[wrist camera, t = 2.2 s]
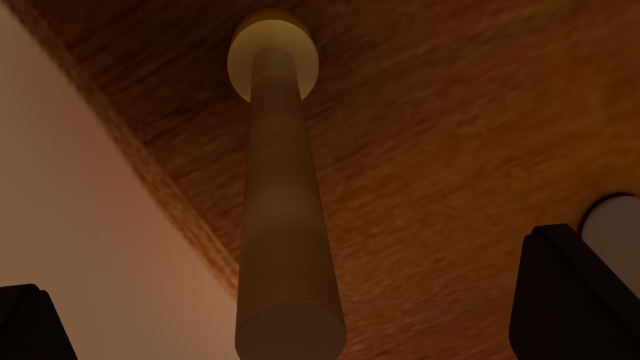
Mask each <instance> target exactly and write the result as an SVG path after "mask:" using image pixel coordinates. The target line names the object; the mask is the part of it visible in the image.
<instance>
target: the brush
mask: <svg viewBox="0 0 640 360" xmlns="http://www.w3.org/2000/svg"><path fill="white" fill-rule="evenodd" d="M227 70H228V75H229V78H230V81H231V83H232V85H233V87H234V88H235V90H236V91H237V93H238V94H239V95H240V96H241V97H242V98H243V99H245V100H246V101H247V102H249V103H250V114H249V129H248V145H247V160H246V176H245V191H244V207H243V222H242V238H241V253H240V269H239V284H238V300H237V315H236V331H235V348H236V352H237V354H238V356H239V358H240V360H337V359H338V358H339V356H340V355H341V353H342V351H343V349H344V347H345V344H346V336H347V334H346V328H345V322H344V317H343V312H342V307H341V302H340V297H339V291H338V286H337V281H336V276H335V271H334V266H333V260H332V255H331V250H330V245H329V240H328V235H327V230H326V224H325V219H324V214H323V209H322V204H321V199H320V193H319V188H318V183H317V178H316V173H315V168H314V162H313V157H312V152H311V147H310V142H309V137H308V131H307V126H306V121H305V116H304V111H303V106H302V100H303V99H304V98H305V97H306V96H307V95H308V94H309V93H310V92H311V90H312V89H313V87H314V85H315V83H316V81H317V78H318V74H319V57H318V53H317V50H316V47H315V44H314V41H313V39H312V36H311V33H310V31H309V29H308V28H307V26H306V25H305V23H304V22H303V21H302V20H301V19H300V18H299V17H297V16H296V15H295V14H293V13H291V12H289V11H287V10H284V9H280V8H262V9H259V10H256V11H254V12H252V13H250V14H248V15H247V16H246V17H245V18H243V19H242V20H241V22H240V23H239V24H238V25H237V27H236V29H235V31H234V33H233V36H232V39H231V44H230V48H229V52H228V58H227Z"/></svg>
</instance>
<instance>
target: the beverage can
mask: <svg viewBox="0 0 640 360" xmlns="http://www.w3.org/2000/svg"><path fill="white" fill-rule="evenodd" d="M582 240H583V241H584V242H585V243H586V244H587V245H588V246H589V247H590V248H591V249H592V250H593V251H594V252H595V253H596V254H597V255H598V256H599V257H600V258H601V259H602V261H603V262H604V263H605V264H606V265H607V266H608V267H609V268H610V269H611V270H612V271H613V272H614V273H615V274H616V275H617V276H618V277H619V278H620V279H621V280H622V281H623V282H624V284H625V285H626V286H627V287H628V288H629V289H630V290H631V291H632V292H633V293H634V294H635V295H636V296H637V297H638V298H639V299H640V198H638V197H635V196H619V197H613V198H610V199H608V200H605V201H603V202H602V203H600V204H598V205H597V206H596V207H595V208H594V209H593V210H592V211H591V212H590V214H589V215H588V217H587V219H586V220H585V222H584V226H583V229H582Z"/></svg>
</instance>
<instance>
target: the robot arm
mask: <svg viewBox="0 0 640 360" xmlns="http://www.w3.org/2000/svg"><path fill="white" fill-rule="evenodd" d="M509 340H510V344H511V347H512V349H513V351H514V353H515V355H516V357H517V358H518V360H640V299H639V298H638V297H637V296H636V295H635V294H634V293H633V292H632V291H631V290H630V289H629V288H628V287H627V286H626V285H625V284H624V282H623V281H622V280H621V279H620V278H619V277H618V276H617V275H616V274H615V273H614V272H613V271H612V270H611V269H610V268H609V267H608V266H607V265H606V264H605V263H604V262H603V261H602V259H601V258H600V257H599V256H598V255H597V254H596V253H595V252H594V251H593V250H592V249H591V248H590V247H589V246H588V245H587V244H586V243H585V242H584V241H583V240H582V239H581V238H580V236H579V235H578V234H577V233H576V232H575V231H574V230H573V229H572V228H571V227H570V226H568V225H567V224H564V223H562V224H553V225H544V226H537V227H534V229H533V230H532V232H531V234H530V235H526V236H525V238H524V241H523V247H522V253H521V259H520V265H519V271H518V277H517V283H516V289H515V295H514V302H513V308H512V314H511V320H510V326H509ZM0 360H78V359H77V356H76V354H75V352H74V350H73V348H72V345H71V343H70V341H69V339H68V336H67V334H66V332H65V330H64V327H63V325H62V323H61V321H60V318H59V316H58V314H57V312H56V309H55V307H54V305H53V303H52V300H51V298H50V296H49V294H48V293H47V292H46V291H45V290H39V288H38V287H37V286H36V285H35V284H23V285H14V286H5V287H0Z"/></svg>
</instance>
